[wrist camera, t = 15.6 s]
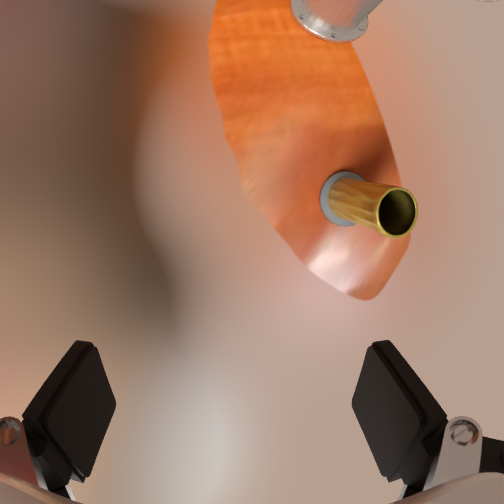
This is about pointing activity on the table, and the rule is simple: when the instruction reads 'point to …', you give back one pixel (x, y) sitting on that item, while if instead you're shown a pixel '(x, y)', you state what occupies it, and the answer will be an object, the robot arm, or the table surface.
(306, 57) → the table surface
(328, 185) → the coaster
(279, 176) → the table surface
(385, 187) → the vase
